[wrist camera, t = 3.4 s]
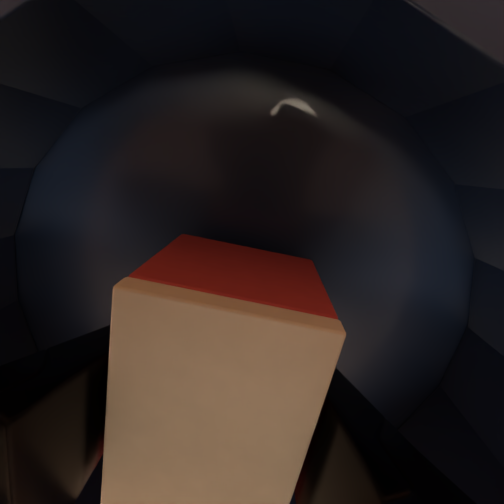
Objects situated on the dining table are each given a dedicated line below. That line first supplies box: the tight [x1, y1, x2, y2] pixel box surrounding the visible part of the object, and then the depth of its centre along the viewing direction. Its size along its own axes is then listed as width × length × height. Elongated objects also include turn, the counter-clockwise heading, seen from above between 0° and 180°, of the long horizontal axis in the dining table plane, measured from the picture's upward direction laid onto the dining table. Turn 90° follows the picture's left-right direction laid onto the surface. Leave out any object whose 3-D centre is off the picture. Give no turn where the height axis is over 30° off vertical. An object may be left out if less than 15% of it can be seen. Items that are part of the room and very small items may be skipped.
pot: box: [0, 0, 504, 504], centre depth 9 cm, size 17×17×4 cm
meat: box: [101, 234, 346, 504], centre depth 8 cm, size 6×4×4 cm
